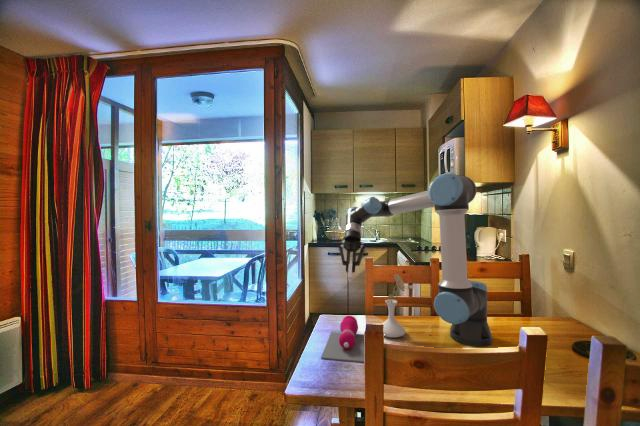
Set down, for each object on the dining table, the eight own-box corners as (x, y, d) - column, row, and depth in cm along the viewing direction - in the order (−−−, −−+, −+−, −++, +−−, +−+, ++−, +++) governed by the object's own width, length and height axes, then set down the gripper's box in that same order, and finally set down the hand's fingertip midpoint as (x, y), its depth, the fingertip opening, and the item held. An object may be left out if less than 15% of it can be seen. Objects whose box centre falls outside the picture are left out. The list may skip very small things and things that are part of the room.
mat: (331, 333, 127) (331, 332, 127) (369, 336, 124) (369, 335, 124) (321, 358, 105) (321, 357, 105) (367, 363, 102) (367, 361, 102)
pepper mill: (337, 320, 128) (332, 343, 108) (351, 310, 127) (348, 332, 107) (348, 334, 128) (344, 359, 108) (361, 324, 126) (360, 348, 107)
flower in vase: (394, 343, 117) (394, 278, 117) (371, 333, 126) (371, 273, 126) (413, 334, 126) (413, 273, 125) (391, 326, 134) (391, 269, 134)
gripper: (367, 240, 142) (366, 283, 126) (339, 239, 145) (335, 282, 128) (366, 229, 137) (365, 273, 120) (338, 229, 139) (333, 272, 123)
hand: (349, 278), depth 124 cm, fingers closed
